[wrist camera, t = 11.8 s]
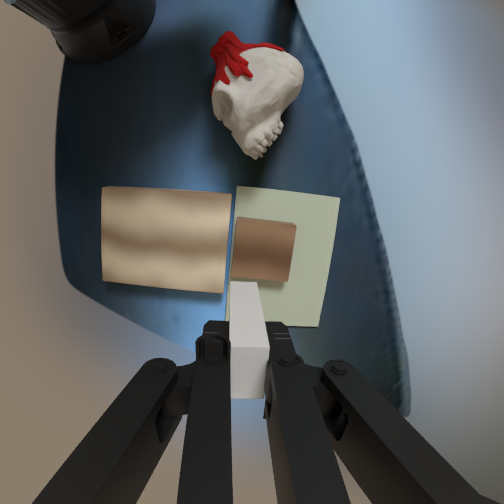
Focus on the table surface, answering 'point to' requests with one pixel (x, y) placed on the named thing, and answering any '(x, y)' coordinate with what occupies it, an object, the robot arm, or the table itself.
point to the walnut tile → (263, 249)
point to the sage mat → (304, 252)
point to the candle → (253, 90)
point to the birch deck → (165, 237)
